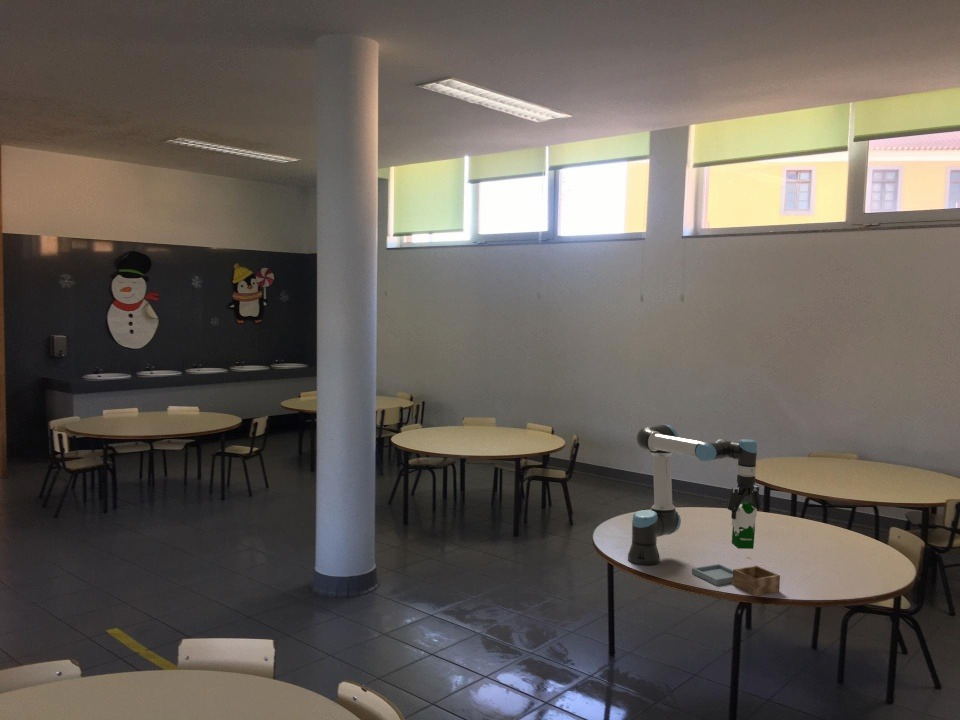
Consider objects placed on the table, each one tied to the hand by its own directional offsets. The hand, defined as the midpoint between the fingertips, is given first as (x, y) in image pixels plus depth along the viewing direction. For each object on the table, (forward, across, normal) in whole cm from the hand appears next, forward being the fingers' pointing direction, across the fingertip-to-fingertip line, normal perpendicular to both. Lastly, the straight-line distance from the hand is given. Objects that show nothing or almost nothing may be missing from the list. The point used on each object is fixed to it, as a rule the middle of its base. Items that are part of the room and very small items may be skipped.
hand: (743, 524), depth 317 cm
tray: (+27, -4, +10) cm, 29 cm away
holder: (+26, +2, -7) cm, 27 cm away
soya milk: (+10, 0, 0) cm, 10 cm away
